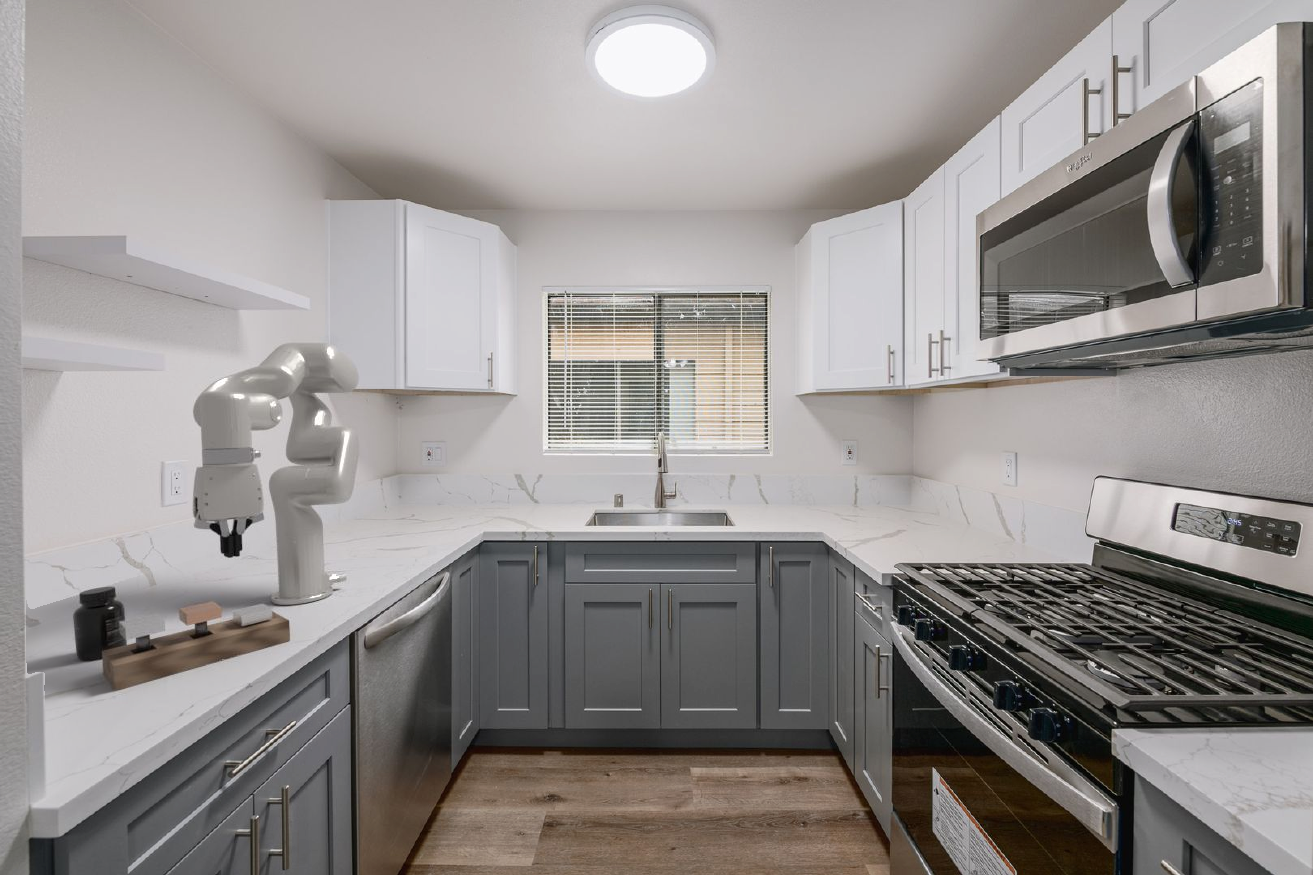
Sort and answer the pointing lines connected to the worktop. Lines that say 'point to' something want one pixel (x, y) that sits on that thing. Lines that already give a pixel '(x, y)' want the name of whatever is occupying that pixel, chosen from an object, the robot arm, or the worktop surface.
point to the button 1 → (142, 630)
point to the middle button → (200, 616)
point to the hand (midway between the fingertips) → (231, 556)
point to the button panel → (190, 650)
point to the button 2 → (252, 614)
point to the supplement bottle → (98, 623)
